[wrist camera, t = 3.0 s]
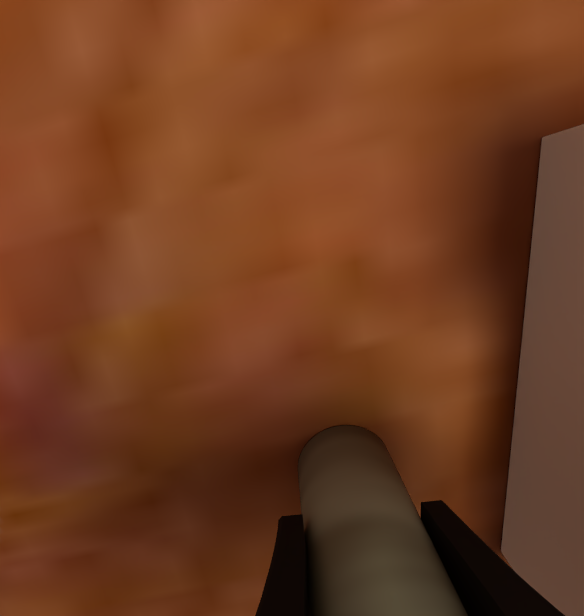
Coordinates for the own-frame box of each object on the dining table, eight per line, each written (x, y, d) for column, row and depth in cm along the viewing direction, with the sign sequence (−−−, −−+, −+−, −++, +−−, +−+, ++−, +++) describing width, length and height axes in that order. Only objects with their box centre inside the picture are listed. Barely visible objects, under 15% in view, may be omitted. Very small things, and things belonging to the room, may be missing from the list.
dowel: (389, 499, 13) (548, 888, 6) (300, 508, 13) (336, 916, 5) (388, 420, 12) (578, 752, 5) (294, 429, 12) (325, 783, 5)
